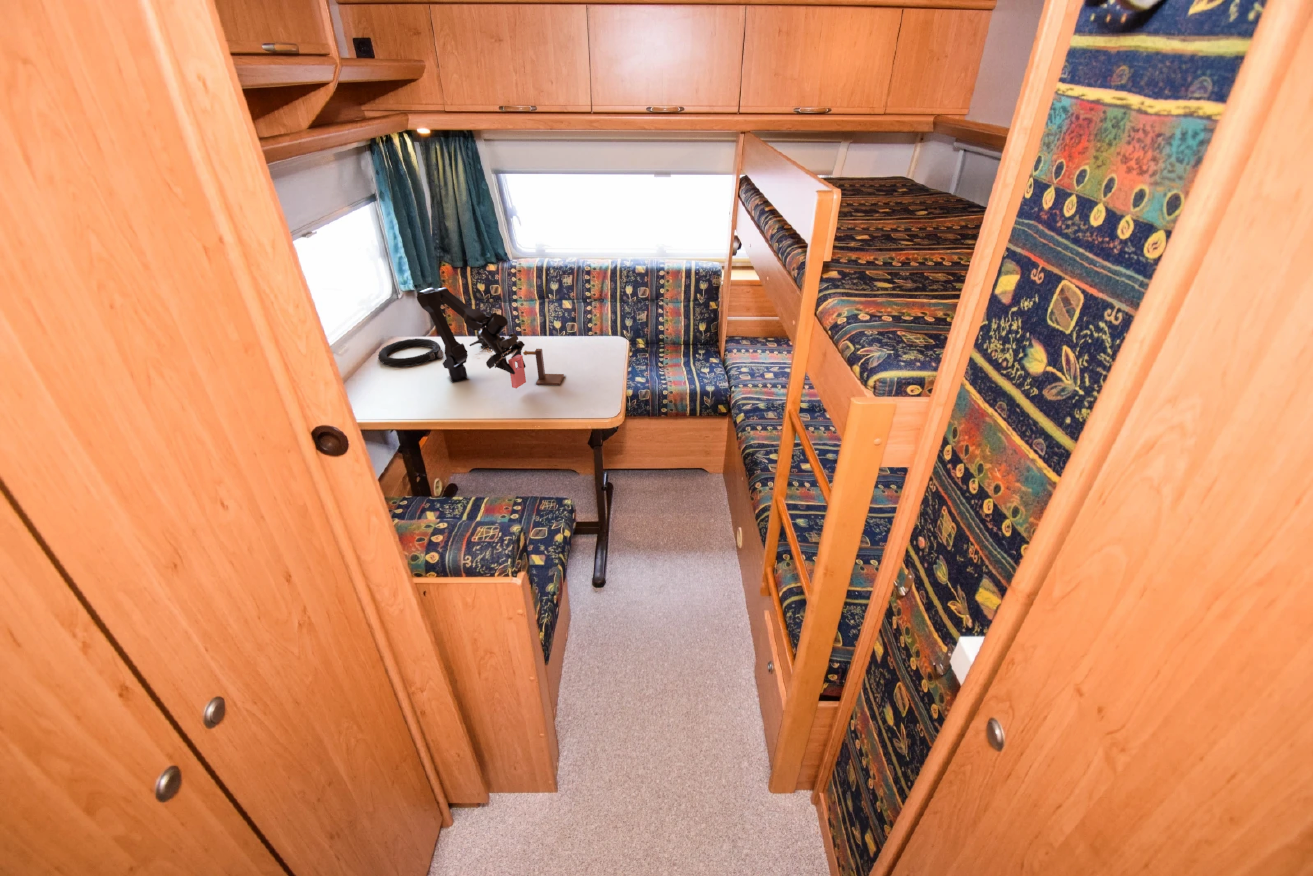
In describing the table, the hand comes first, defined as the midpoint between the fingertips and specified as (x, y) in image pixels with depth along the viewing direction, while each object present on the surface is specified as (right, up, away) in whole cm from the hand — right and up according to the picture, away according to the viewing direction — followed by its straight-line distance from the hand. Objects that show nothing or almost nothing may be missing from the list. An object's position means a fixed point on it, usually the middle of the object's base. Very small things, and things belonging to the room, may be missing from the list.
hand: (519, 370), depth 234 cm
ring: (-60, +12, +40) cm, 73 cm away
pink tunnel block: (-1, -5, +4) cm, 7 cm away
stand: (+6, -2, +16) cm, 17 cm away
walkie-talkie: (-28, +17, +49) cm, 59 cm away
